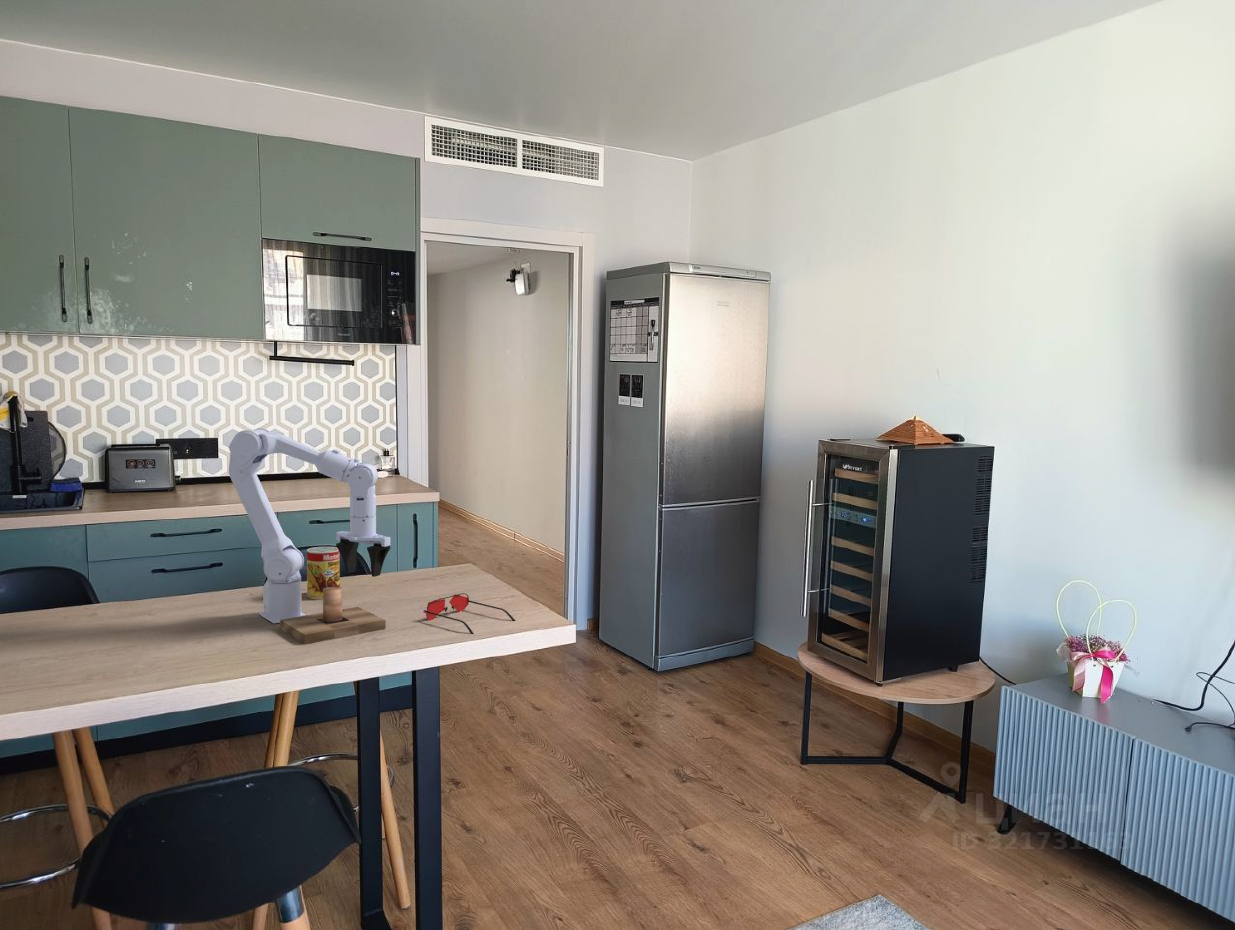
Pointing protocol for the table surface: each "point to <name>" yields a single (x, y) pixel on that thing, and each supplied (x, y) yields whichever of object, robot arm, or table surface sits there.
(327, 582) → the canned food
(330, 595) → the peg
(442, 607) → the glasses
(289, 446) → the robot arm
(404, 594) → the table surface
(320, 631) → the board
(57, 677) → the table surface
